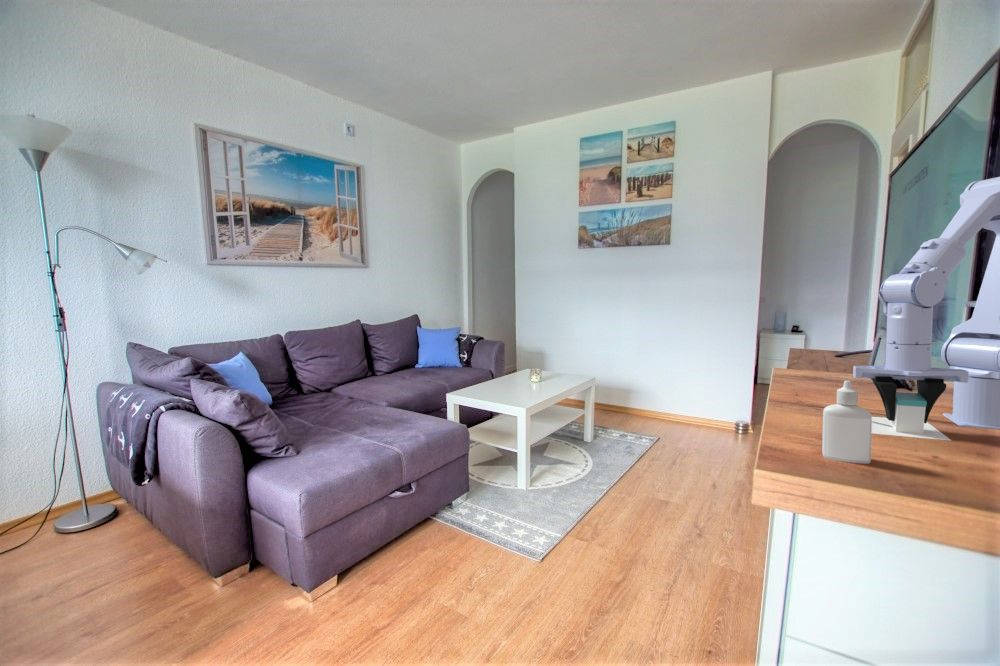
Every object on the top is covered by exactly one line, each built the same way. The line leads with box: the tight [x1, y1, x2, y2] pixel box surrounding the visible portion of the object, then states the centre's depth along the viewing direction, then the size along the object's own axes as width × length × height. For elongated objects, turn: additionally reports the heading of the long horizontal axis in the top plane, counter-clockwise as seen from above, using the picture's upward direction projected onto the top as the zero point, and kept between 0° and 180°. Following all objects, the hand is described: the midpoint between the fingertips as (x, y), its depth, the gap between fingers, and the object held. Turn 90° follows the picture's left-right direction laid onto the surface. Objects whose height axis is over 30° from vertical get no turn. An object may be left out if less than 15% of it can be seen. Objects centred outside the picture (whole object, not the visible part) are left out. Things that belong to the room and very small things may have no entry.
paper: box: [871, 416, 953, 441], centre depth 78 cm, size 12×12×1 cm
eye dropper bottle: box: [821, 380, 873, 465], centre depth 65 cm, size 4×6×12 cm
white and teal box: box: [890, 391, 927, 434], centre depth 75 cm, size 4×4×6 cm
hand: (905, 420), depth 76 cm, fingers closed on white and teal box, 3 cm apart
